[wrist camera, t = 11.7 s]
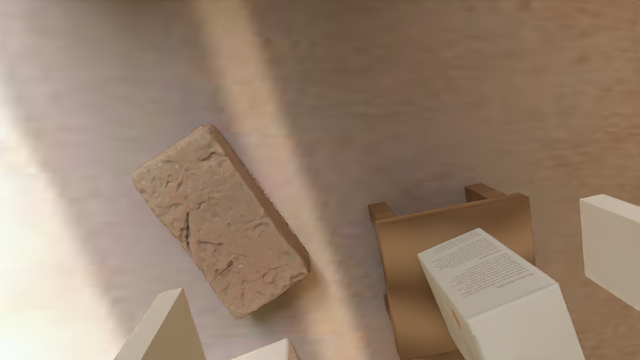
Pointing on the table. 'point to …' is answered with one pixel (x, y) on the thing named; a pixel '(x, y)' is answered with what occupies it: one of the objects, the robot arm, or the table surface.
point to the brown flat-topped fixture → (431, 230)
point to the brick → (223, 220)
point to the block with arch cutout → (272, 352)
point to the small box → (498, 302)
